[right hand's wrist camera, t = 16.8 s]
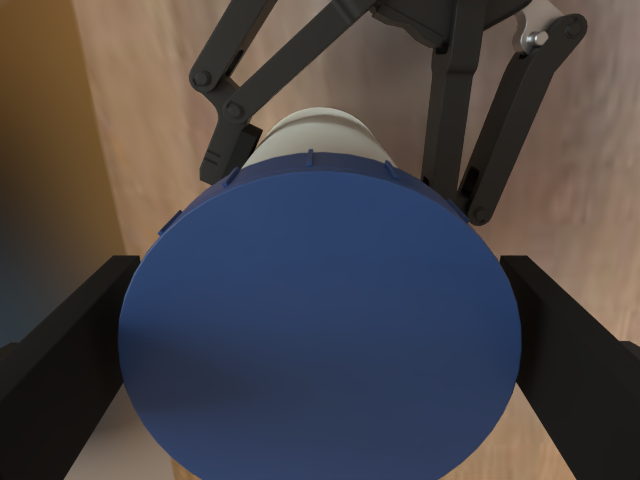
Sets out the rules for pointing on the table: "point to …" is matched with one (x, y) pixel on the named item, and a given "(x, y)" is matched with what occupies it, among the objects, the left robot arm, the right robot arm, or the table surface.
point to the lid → (319, 327)
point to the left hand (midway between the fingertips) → (281, 276)
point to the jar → (319, 136)
